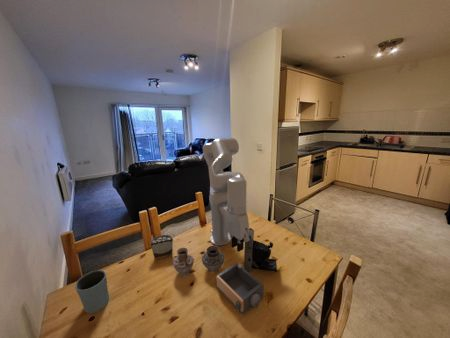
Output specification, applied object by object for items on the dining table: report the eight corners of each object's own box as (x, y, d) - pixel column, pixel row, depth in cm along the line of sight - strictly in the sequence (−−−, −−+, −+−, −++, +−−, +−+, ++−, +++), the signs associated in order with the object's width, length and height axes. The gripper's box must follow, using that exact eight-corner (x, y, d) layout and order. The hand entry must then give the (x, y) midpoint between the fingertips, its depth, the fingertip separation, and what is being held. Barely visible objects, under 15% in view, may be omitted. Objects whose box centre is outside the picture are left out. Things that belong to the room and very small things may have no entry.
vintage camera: (276, 280, 88) (280, 242, 83) (243, 274, 91) (244, 237, 86) (275, 265, 97) (278, 230, 93) (245, 260, 100) (246, 226, 96)
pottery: (175, 265, 98) (172, 245, 95) (223, 258, 102) (222, 239, 99) (172, 283, 87) (170, 260, 85) (226, 275, 91) (226, 253, 88)
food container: (174, 247, 112) (172, 232, 110) (175, 254, 106) (173, 238, 104) (152, 252, 108) (149, 236, 106) (151, 259, 103) (149, 243, 100)
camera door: (215, 287, 83) (214, 277, 82) (218, 285, 84) (218, 275, 83) (240, 314, 71) (240, 303, 70) (243, 311, 72) (243, 300, 71)
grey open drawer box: (216, 288, 84) (216, 274, 82) (237, 273, 92) (237, 260, 90) (245, 319, 70) (245, 303, 69) (267, 299, 78) (267, 285, 76)
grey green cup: (106, 311, 75) (101, 286, 72) (76, 319, 72) (69, 293, 69) (113, 290, 84) (108, 267, 81) (87, 296, 82) (81, 272, 79)
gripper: (217, 204, 80) (218, 243, 84) (244, 218, 68) (244, 263, 72) (230, 199, 85) (231, 236, 89) (258, 212, 72) (258, 254, 77)
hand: (237, 248), depth 80 cm, fingers open, 2 cm apart
